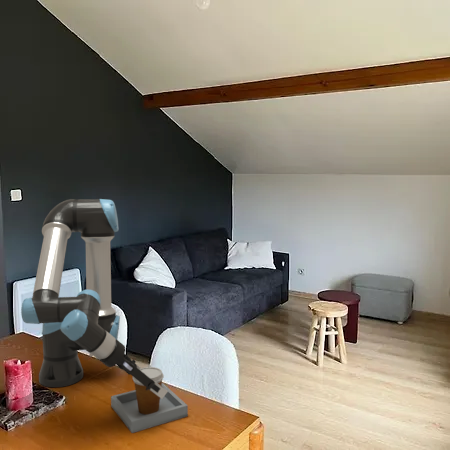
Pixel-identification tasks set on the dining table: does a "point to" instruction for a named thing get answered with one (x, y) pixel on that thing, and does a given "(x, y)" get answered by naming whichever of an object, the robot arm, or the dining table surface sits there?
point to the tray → (135, 421)
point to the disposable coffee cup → (148, 391)
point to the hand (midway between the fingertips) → (155, 386)
